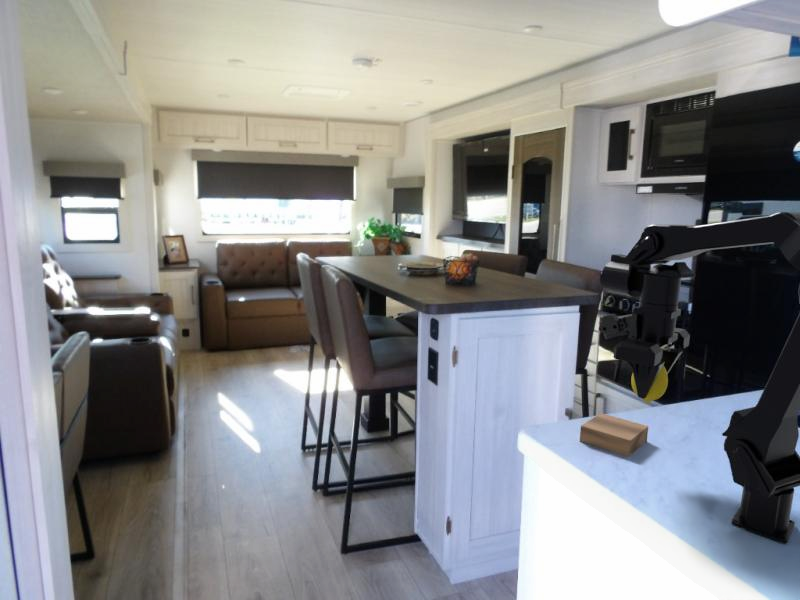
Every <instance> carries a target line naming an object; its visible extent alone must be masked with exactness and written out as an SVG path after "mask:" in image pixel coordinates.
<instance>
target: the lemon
mask: <svg viewBox="0 0 800 600" xmlns="http://www.w3.org/2000/svg"><path fill="white" fill-rule="evenodd" d="M630 378H631V379H630V380H631V381H630V383H631V388H632V390H633V392H634V394H635V395H636V396H637V397H638V394H637V389H636V384H635V379H634V375H633V372H632V374H631V377H630ZM668 384H669V377H668V374H667V371H666V368H665V367H664V365H663V367H662V369H661V370H660V372H659V374H658V376H657V378H656V380H655V382H654V384H653V385H652V387H651V389H650V391H649V393H648V395H647V396H646V398H645V399H643V398H641V399H642V401H643V402H644V403H645V404H650V402H652V401H656V400H659V399H660V398H661V397H662V396H663V395H664V394H665V392H666V390H667V388H668V386H669V385H668Z"/></svg>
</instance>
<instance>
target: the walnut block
mask: <svg viewBox="0 0 800 600" xmlns="http://www.w3.org/2000/svg"><path fill="white" fill-rule="evenodd" d="M579 432H580V434H579V442H582V443H585V444H587V445H591V446H594V447H597V448H600V449H602V450H606V451H610V452H612V453H616V454H620V455H622V456H625V457H630V456H631V455H632V454H634V453H635V452H636V451H637V450H638V449H640V448H641V447H642V446H643V445H645V444H646V443H647V441H648V434H649V433H648V432H649V425H644V424H643V423H642V424H641V423H638V422H634V421H631V420H627V419H624V418H620V417H616V416H613V415H609V414H606V413H603V412H600V413H599V414H597V415H596V416H594V417H593V418H591V419H590V420H588V421H586V422H585V423H583V424H582V425H580V431H579Z"/></svg>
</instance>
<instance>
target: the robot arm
mask: <svg viewBox="0 0 800 600" xmlns="http://www.w3.org/2000/svg"><path fill="white" fill-rule="evenodd" d="M639 237H640V238H639V240H637V242H636V243H635V244H634V246H633V247H632V248H631V250H630V251H629V252H628V253H627V255H626V254H620V253H616V254H615V253H614V254H611V256H610V261H609V262H607V263H606V264H605V266H603V268H602V271H601V272H600V275H599V281H600V285H601V288H602V289H604V291H606V292H609V293H613V294H618V295H623V296H628V297H632V298H638V297H639V302H638V303H639V304H638V306H635V307H634V308H633V309H632V313H630V314H625V315H620V316H617V314H616V313H612V314H606V315H603V316H602V318H601V321H599V327H598V331H599V332H601V333H603V336H604V339H605V340H608V339H609V340H610V339H613V338H616V337H621V336H626V335H627V336H628V338H627V339H624V340H621V341H620V342H619V343H617V344H616V345H614V349H613V350H614V351H613V356H612V357H613V358H614V359H615V360H619V361H624V362H626V363H627V364H628V365H629V366H630V368H631V370H632V371H631V372H632V373H633V375H634V379H635V384H636V389H637V394H638V396H637V397H638V398H640V399H642V398H643V399H645V398H646V396H647V395H648V393H649V391H650V389H651V387H652V385H653V384H654V382H655V380H656V378H657V376H658V374H659V372H660V370H661V369H662V367H663V365H664V367H665V368H666V371H667V375H668V374H669V373H670V371H671V370H672V368H673V367H674V366H675V365H674V364H676V361H678V359H679V357H681V354H682V353H683V349H685V348H687V347H689V345H690V338H691V335H690V334H689V332H688V331H687V329H684V328H679V327H676V326H677V325H676V323H677V318H678V317H679V316H680V317H681V314H682V313H681V311H682V309H681V308H679V302H680V301H679V300H680V291H681V284H682V279H691V278H693V279H694V278H695V277H696V274H695V272H694V271H693V270H692V269H691V268H690V267H689V266H688V265H687V262H685V261H682V260H685V259H688V258H693V257H695V256H699V255H700V254H702V253H705V252H708V251H712V250H722V249H731V248H732V249H733V248H741V247H754V246H762V245H770V244H774V245H776V246H777V248H779V249H780V251H781V253H782V254H783V256H784V258H785V259H786V260H787V262H788V263H789V264H790V265H791V266H792V267H794V268H795V269H796V270H797V271H799V272H800V212H798V211H797V212H796V211H795V212H794V211H793V212H792V211H790V212H789V211H787V212H786V211H778V212H776V213H773V214H770V215H764V216H758V217H757V216H756V217H750V218H743V219H736V220H730V221H723V222H715V223H709V224H701V225H692V224H691V225H689V224H650V225H647V226H646V227H645V228H643V231H642V233H641V234H640V236H639ZM671 261H676V262H674V263H673V264H672V265H670V264H668V263H670V262H671ZM679 261H680V262H679ZM652 265H654V266H652ZM651 266H652V267H651ZM798 300H799V303H800V284H799V286H798ZM675 344H677V345H679V346H680V348H682V349H677V348H675ZM643 399H642V400H643ZM799 414H800V312H799V313H798V316H797V318H796V320H795V322H794V324H793V327H792V329H791V330H790V333H789V335H788V337H787V339H786V342H785V343H784V346H783V348H782V350H781V353H780V355H779V357H778V358H777V361H776V363H775V365H774V366H773V370H772V371H771V373H770V376H769V378H768V380H767V382H766V383H765V386H764V388H763V391H762V393H761V395H760V398H759V399H758V401H757V404H756V405H755V406H751V407H748V408H744V409H740V410H739V409H738V410H735V411H733V412H732V415H731V417H730V420H729V425H728V427H727V428H726V430H725V431H723V432H722V433H721V435H722V436H723V437H726V438H725V439H724V443H723V451H725V453H726V457H727V458H728V461H729V467H730V471H731V476H732V481H733V482H734V484H736V485H739V486H741V487H742V494H741V500H740V506H739V507H738V508H737V511H736V513H735V514H734V516H733V517H732V519H731V525H732V526H735V527H738V528H740V529H742V530H746V531H749V532H752V533H754V534H758V535H760V536H764V537H766V538H769V539H772V540H774V541H777V542H778V543H779V542H780V543H783V544H788V542H789V540H790V537H791V535H792V533H793V531H794V527H795V524H796V523H795V521H794V520H792V519H791V513H792V507H793V500H794V494H795V488H797V487H800V455H799V453H798V452H797V451H796V447H797V444H798V440H799V437H800V435H799V434H800V433H799V425H798V424H799V423H798V418H799Z"/></svg>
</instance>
